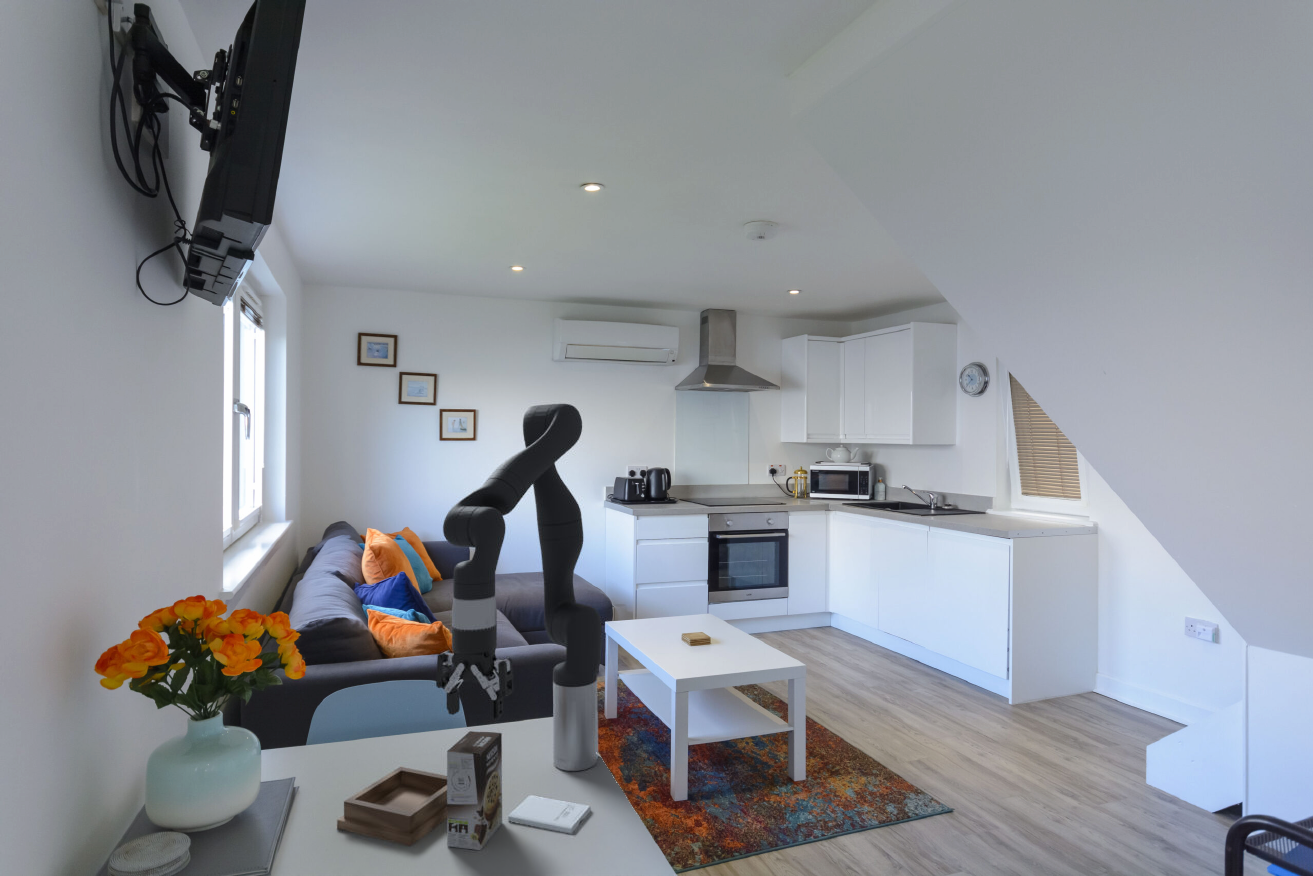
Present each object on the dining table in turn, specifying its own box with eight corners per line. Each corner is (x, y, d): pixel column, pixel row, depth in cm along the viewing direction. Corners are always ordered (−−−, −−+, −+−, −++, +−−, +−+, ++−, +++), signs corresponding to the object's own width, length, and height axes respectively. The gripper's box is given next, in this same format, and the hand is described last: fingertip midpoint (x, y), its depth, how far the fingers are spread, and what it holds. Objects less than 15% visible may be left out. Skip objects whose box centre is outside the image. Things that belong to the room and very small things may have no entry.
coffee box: (481, 851, 121) (480, 753, 121) (445, 847, 122) (445, 750, 122) (504, 822, 130) (503, 731, 130) (470, 819, 131) (469, 729, 131)
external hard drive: (530, 802, 138) (591, 813, 134) (508, 824, 130) (571, 836, 126) (530, 794, 138) (590, 804, 134) (507, 815, 130) (571, 827, 126)
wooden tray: (400, 787, 143) (400, 764, 143) (468, 801, 138) (468, 777, 138) (337, 828, 129) (336, 802, 129) (410, 846, 123) (410, 819, 123)
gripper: (521, 621, 127) (521, 714, 127) (453, 613, 132) (453, 703, 132) (497, 631, 120) (497, 730, 120) (426, 623, 125) (426, 718, 125)
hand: (474, 716), depth 126 cm, fingers open, 8 cm apart
